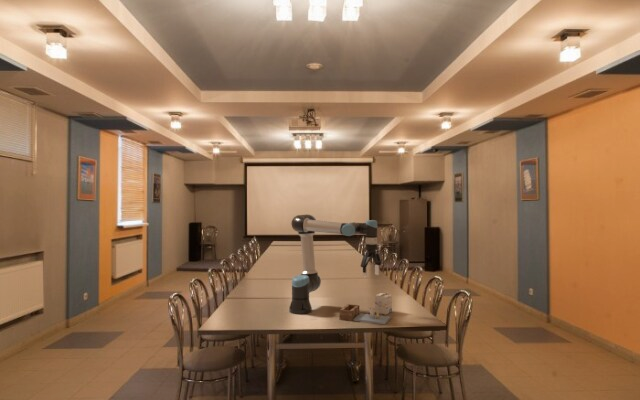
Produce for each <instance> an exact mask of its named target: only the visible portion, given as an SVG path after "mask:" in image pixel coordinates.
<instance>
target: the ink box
mask: <svg viewBox="0 0 640 400" xmlns="http://www.w3.org/2000/svg"><path fill="white" fill-rule="evenodd" d="M388 293H389V291H387V292H383V293H382V292H380V293H378V294H375V295H374V308H375V313H376V312H379V314H380V315H388V314H390V313H392V311H393V295H392V294H388Z"/></svg>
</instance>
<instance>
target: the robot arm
mask: <svg viewBox="0 0 640 400" xmlns="http://www.w3.org/2000/svg"><path fill="white" fill-rule="evenodd" d="M290 224H291V228H292V229H293V230H294V231H295V232H297V234H298V236H299V237H300V243H301V244H300V245H301V248H300V249H301V257H302V259H301V261H302V262H301V263H302V271H301V272H300V274H298V275H295V276H293V277H292V279H291V301H290V304H289V309H288V310H289V311H288V312H289V313H291V314H295V315H305V314H310V313H312V311H313V309H312V308H313V307H312V305H311V301H310V293H312V292H315V291H317V290H318V289H319V288H320V287H321V284H322V280H321V277H320V276H319V274H318V273H319V272H318V271H317V270H316V263H315V250H314V249H315V248H314V235H315V234H316V233H317V232H318V233H323V234H324V233H325V234H334V235H342V236H347V237H351V236H354V235H355V236H356V235H365V250H366V251H363V257H362V259H361V263H360V267H361V268H362V278H364V279H367V278H368V264H369V262H370V260H371V259H373V261H374V263H375V264H374V275H376V276H379V275H380V266H381V265H382V261H381V256H380V252H379V250H378V228H379V227H378V221H377V220H375V219H371V220H370V219H366V221H365V222H356V221H355V222H349V223H348V222H336V221H327V220H316V217H315V216H313V215H311V214H298V215H295V216H293V218H292V220H291V223H290Z"/></svg>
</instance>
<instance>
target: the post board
mask: <svg viewBox="0 0 640 400" xmlns="http://www.w3.org/2000/svg"><path fill="white" fill-rule="evenodd" d="M375 313H376V314H375ZM390 320H391V316H390V315H389V316H387V315H381V314H380V313H379V312H375V307H370V308H369V313H361V312H359V315H358V316H356V317H355V318H354V319H353V321H354V322H362V323H369V324H376V325H377V324H379V325H386V324H387V323H388V322H389V321H390Z"/></svg>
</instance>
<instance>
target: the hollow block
mask: <svg viewBox="0 0 640 400" xmlns="http://www.w3.org/2000/svg"><path fill="white" fill-rule="evenodd" d="M338 312H339V314H338V315H339V320H340V321H348V322H349V321H350V322H352V321H354V318H355V317H356V316H358V315H359V314H360V305H359V304H349V303H348V304H347V303H346V305H344V306H343V307H342V308H340V309H339V311H338Z"/></svg>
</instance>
